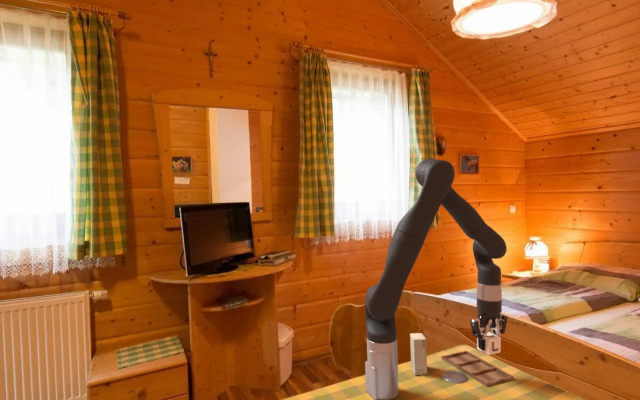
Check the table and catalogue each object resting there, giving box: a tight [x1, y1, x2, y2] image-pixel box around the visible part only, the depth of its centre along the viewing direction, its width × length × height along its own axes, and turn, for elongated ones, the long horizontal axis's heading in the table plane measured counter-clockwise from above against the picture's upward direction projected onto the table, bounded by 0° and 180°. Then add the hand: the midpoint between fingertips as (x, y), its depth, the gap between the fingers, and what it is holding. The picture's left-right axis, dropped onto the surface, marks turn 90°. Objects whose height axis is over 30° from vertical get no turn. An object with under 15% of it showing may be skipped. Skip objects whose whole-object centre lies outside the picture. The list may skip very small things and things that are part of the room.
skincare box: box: [409, 332, 428, 376], centre depth 135 cm, size 6×4×12 cm
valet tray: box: [440, 350, 515, 387], centre depth 135 cm, size 11×22×1 cm, turn 21°
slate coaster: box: [441, 370, 468, 384], centre depth 130 cm, size 8×8×1 cm
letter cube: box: [476, 331, 502, 356], centre depth 129 cm, size 5×5×5 cm
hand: (488, 348), depth 129 cm, fingers closed on letter cube, 5 cm apart
